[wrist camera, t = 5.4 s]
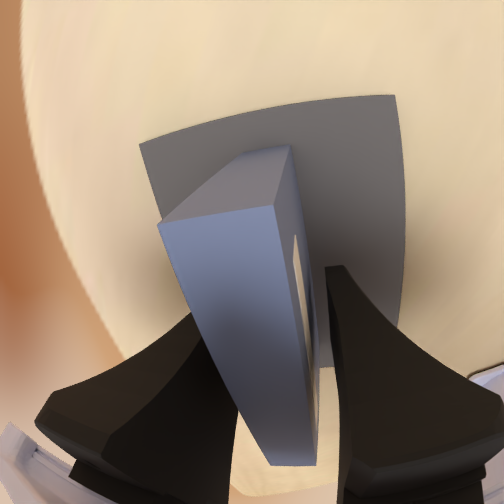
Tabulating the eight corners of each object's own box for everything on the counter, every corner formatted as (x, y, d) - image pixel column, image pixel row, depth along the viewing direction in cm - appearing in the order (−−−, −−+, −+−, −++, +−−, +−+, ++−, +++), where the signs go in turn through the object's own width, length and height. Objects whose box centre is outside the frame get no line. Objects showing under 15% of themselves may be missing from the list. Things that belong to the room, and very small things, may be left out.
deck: (319, 346, 12) (316, 465, 7) (285, 348, 13) (269, 465, 8) (290, 144, 8) (274, 204, 3) (241, 153, 9) (155, 224, 4)
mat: (390, 353, 13) (391, 359, 12) (225, 365, 15) (223, 370, 14) (391, 95, 7) (394, 94, 7) (144, 142, 10) (138, 144, 9)
